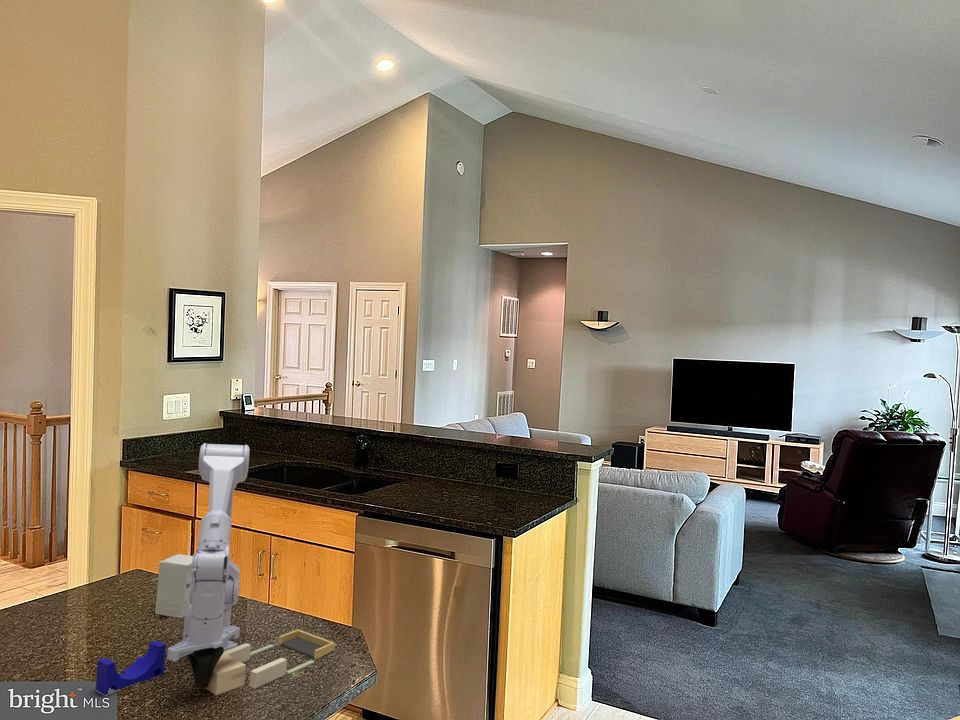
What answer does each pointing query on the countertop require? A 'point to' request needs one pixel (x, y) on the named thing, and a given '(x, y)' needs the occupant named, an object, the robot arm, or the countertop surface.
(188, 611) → the robot arm
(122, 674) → the blue arch block
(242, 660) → the cream parallel guide rails
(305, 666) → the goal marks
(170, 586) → the supplement box
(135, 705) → the countertop surface
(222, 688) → the beech block
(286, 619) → the countertop surface
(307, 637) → the open-sided tray
